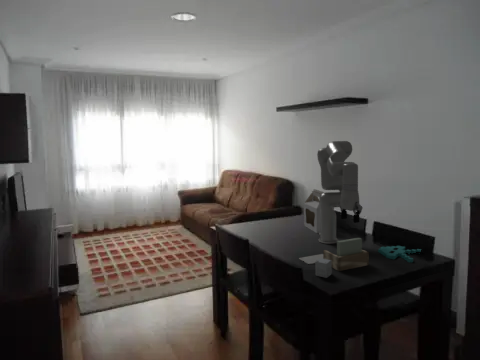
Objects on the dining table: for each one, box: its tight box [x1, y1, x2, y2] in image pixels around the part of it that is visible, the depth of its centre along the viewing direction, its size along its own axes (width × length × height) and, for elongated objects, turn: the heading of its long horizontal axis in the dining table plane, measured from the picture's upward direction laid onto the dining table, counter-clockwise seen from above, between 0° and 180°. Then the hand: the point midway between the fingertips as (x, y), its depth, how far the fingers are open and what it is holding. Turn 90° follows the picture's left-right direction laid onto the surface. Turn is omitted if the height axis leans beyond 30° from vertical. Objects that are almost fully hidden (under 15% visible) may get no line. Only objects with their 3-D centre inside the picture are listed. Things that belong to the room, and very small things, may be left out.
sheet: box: [336, 237, 363, 257], centre depth 193 cm, size 2×14×14 cm, turn 112°
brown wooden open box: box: [322, 249, 370, 272], centre depth 196 cm, size 13×19×7 cm
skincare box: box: [314, 258, 333, 279], centre depth 182 cm, size 6×6×7 cm
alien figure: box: [377, 245, 422, 263], centre depth 209 cm, size 20×2×20 cm
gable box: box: [303, 188, 335, 234], centre depth 266 cm, size 22×13×28 cm, turn 14°
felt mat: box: [298, 253, 323, 265], centre depth 204 cm, size 10×16×1 cm, turn 112°
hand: (350, 220), depth 190 cm, fingers open, 9 cm apart
